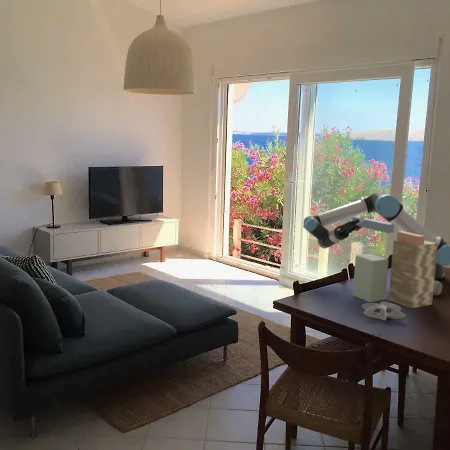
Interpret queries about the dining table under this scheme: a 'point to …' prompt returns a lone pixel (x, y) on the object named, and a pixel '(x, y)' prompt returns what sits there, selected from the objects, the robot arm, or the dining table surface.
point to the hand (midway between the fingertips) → (367, 217)
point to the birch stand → (413, 273)
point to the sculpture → (383, 306)
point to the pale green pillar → (370, 277)
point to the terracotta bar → (410, 238)
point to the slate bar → (376, 225)
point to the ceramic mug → (437, 288)
